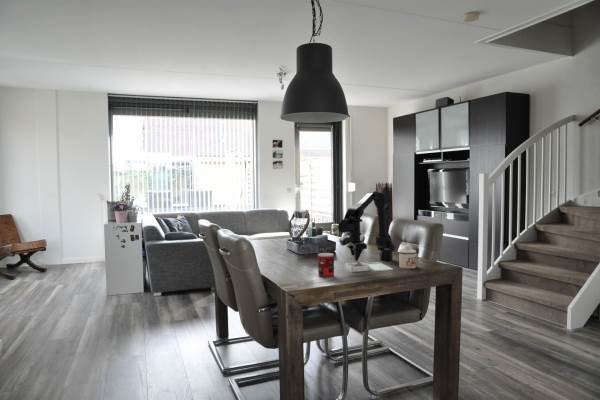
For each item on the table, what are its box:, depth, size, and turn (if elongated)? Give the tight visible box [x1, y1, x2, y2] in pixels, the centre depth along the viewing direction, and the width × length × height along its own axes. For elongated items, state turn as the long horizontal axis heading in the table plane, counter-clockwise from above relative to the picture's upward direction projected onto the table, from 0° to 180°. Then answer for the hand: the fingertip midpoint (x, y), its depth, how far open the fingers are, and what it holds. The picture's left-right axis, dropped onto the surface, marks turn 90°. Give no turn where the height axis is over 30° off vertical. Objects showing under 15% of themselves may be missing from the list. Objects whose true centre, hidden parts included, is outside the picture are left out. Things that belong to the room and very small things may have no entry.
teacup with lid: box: [398, 245, 419, 269], centre depth 231 cm, size 12×9×12 cm
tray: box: [364, 261, 394, 272], centre depth 232 cm, size 10×18×1 cm, turn 14°
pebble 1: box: [351, 255, 360, 263], centre depth 230 cm, size 4×4×4 cm
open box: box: [344, 261, 371, 273], centre depth 228 cm, size 10×10×3 cm
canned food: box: [317, 252, 335, 278], centre depth 217 cm, size 8×8×11 cm
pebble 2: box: [354, 261, 362, 267], centre depth 226 cm, size 4×4×4 cm
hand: (355, 259), depth 230 cm, fingers closed on pebble 1, 4 cm apart
